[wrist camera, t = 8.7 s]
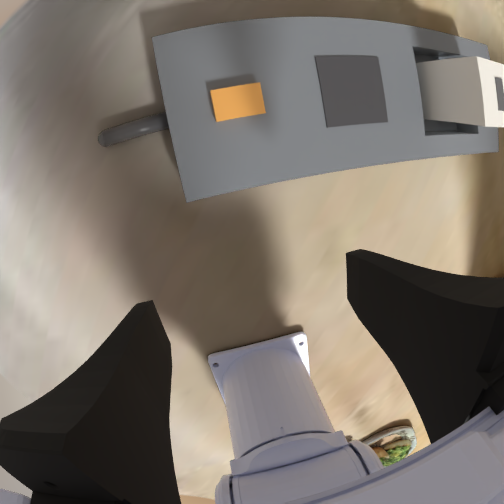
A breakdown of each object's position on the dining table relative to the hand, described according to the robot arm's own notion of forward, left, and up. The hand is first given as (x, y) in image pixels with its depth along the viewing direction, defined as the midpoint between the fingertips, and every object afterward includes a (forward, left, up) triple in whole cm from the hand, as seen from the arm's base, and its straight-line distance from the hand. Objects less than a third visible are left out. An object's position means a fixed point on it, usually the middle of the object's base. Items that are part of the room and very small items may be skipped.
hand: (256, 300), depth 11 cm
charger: (+7, -16, -9) cm, 20 cm away
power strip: (+7, -8, -9) cm, 14 cm away
